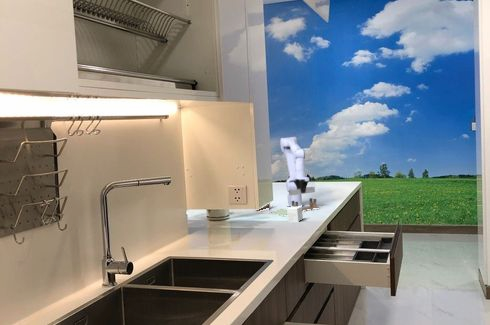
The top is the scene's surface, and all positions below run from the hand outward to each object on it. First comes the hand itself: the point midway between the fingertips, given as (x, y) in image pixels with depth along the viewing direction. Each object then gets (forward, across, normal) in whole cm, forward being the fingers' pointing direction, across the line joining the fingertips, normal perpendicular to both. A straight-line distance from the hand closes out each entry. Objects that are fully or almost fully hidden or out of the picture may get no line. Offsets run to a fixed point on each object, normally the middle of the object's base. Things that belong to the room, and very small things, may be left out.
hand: (301, 192), depth 297 cm
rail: (0, 0, 0) cm, 0 cm away
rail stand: (+10, 0, +1) cm, 10 cm away
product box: (+11, +25, -21) cm, 35 cm away
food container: (+11, -22, -16) cm, 30 cm away
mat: (+10, -2, -13) cm, 17 cm away
